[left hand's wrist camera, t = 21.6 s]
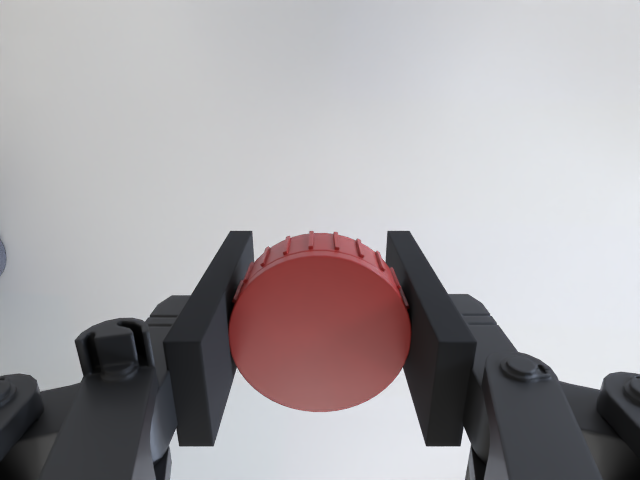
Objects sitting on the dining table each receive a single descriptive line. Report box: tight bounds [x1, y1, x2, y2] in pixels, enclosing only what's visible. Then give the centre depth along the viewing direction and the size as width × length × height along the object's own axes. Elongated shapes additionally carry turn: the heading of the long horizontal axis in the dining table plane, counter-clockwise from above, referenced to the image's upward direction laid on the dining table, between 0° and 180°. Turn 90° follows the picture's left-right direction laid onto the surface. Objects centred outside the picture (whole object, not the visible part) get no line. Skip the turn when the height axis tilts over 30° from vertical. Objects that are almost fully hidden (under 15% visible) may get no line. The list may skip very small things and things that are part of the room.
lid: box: [228, 231, 411, 412], centre depth 11 cm, size 5×5×2 cm
